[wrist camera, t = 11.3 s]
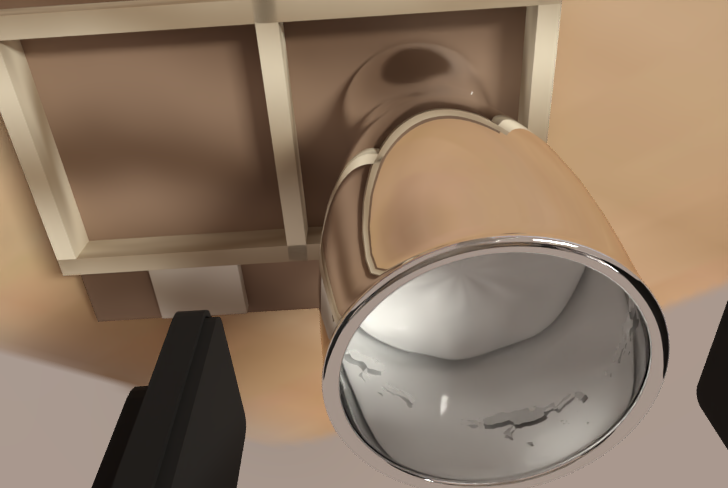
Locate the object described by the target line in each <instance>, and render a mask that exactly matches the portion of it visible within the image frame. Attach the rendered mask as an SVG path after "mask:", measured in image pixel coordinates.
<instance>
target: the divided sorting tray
mask: <svg viewBox="0 0 728 488" xmlns="http://www.w3.org/2000/svg"><path fill="white" fill-rule="evenodd" d="M561 7H562V0H0V112H1V115H2V117H3V120H4V123H5V125H6V128H7V130H8V133H9V136H10V138H11V141H12V143H13V146H14V149H15V151H16V154H17V156H18V159H19V162H20V164H21V167H22V170H23V172H24V175H25V177H26V180H27V183H28V185H29V188H30V190H31V193H32V196H33V198H34V201H35V203H36V206H37V209H38V211H39V214H40V216H41V219H42V222H43V224H44V227H45V229H46V232H47V235H48V237H49V240H50V242H51V245H52V248H53V250H54V253H55V255H56V258H57V261H58V263H59V266H60V269H61V271H62V274H63V276H67V275H81V276H82V279H83V282H84V285H85V287H86V290H87V293H88V296H89V298H90V301H91V304H92V307H93V309H94V312H95V315H96V318H97V320H98V322H99V321H115V320H131V319H148V318H173V316H174V315H175V313H176V312H178V311H194V310H209V312H210V314H211V315H227V314H243V313H247V312H261V311H277V310H294V309H310V308H319V301H318V273H319V251H320V243H321V235H322V228H323V221H324V216H325V211H326V208H327V205H328V202H329V199H330V195H331V192H332V189H333V186H334V183H335V180H336V178H337V175H338V173H339V171H340V169H341V166H342V164H343V162H344V160H345V158H346V156H347V154H348V153H347V151H346V149H345V146H344V143H343V140H342V136H341V129H340V110H341V105H342V101H343V97H344V94H345V92H346V89H347V87H348V85H349V83H350V82H351V80H352V79H353V77H354V76H355V74H356V73H357V72H358V71H359V69H360V68H361V67H362V66H363V65H364V64H365V63H367V62H368V61H369V60H370V59H371V58H373V57H374V56H376V55H377V54H379V53H381V52H382V51H384V50H386V49H389V48H391V47H394V46H397V45H401V44H406V43H415V42H424V43H433V44H437V45H441V46H445V47H448V48H450V49H452V50H454V51H456V52H458V53H460V54H461V55H463V56H464V57H465V58H466V59H468V60H469V61H470V62H471V63H472V64H473V65H474V66H475V67H476V69H477V70H478V71H479V73H480V74H481V76H482V77H483V79H484V81H485V83H486V85H487V87H488V90H489V93H490V96H491V100H492V105H493V107H494V108H496V109H497V110H499V111H501V112H503V113H504V114H506V115H508V116H509V117H511V118H513V119H514V120H516V121H518V122H519V123H521V124H522V125H523V126H525V127H526V128H527V129H529V130H530V131H531V132H532V133H534V134H535V135H536V136H538V137H539V138H540V139H542V140H543V141H544V142H545V143H547V138H548V129H549V119H550V110H551V101H552V91H553V82H554V72H555V63H556V54H557V44H558V35H559V25H560V16H561Z"/></svg>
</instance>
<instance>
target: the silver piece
mask: <svg viewBox="0 0 728 488" xmlns="http://www.w3.org/2000/svg"><path fill="white" fill-rule="evenodd" d="M340 129H341V136H342V140H343V143H344V146H345V149H346V151H347V153H348V154H347V156H346V158H345V160H344V162H343V164H342V166H341V169H340V171H339V173H338V175H337V178H336V180H335V183H334V186H333V189H332V192H331V195H330V199H329V202H328V205H327V208H326V211H325V216H324V221H323V228H322V235H321V243H320V251H319V273H318V301H319V319H320V334H321V345H322V356H323V371H322V392H323V399H324V403H325V407H326V411H327V414H328V416H329V419H330V421H331V423H332V425H333V427H334V429H335V431H336V432H337V434H338V435H339V437H340V438H341V439H342V441H343V442H344V443H345V444H346V445H347V447H348V448H349V449H350V450H351V451H352V452H353V453H354V454H355V455H356V456H358V457H359V458H360V459H361V460H362V461H364V462H365V463H366V464H368V465H369V466H370V467H372V468H374V469H375V470H377V471H378V472H380V473H382V474H384V475H386V476H388V477H390V478H392V479H394V480H397V481H399V482H402V483H404V484H407V485H410V486H414V487H417V488H530V487H534V486H538V485H541V484H544V483H547V482H550V481H553V480H556V479H559V478H561V477H564V476H566V475H568V474H570V473H573V472H575V471H577V470H579V469H581V468H583V467H584V466H586V465H588V464H590V463H592V462H593V461H595V460H597V459H598V458H600V457H601V456H603V455H604V454H606V453H607V452H608V451H610V450H611V449H612V448H614V447H615V446H616V445H617V444H619V443H620V442H621V441H622V440H623V439H624V438H626V436H628V435H629V434H630V433H631V432H632V431H633V430H634V428H635V427H636V426H637V425H638V424H639V423H640V421H641V420H642V419H643V418H644V417H645V415H646V414H647V412H648V411H649V409H650V408H651V406H652V404H653V403H654V401H655V399H656V397H657V396H658V394H659V391H660V389H661V387H662V384H663V381H664V378H665V375H666V371H667V367H668V361H669V350H670V344H669V333H668V328H667V325H666V320H665V317H664V314H663V312H662V309H661V307H660V305H659V303H658V301H657V299H656V298H655V296H654V294H653V293H652V292H651V290H650V289H649V288H648V286H647V285H646V284H645V283H644V282H643V281H642V279H641V277H640V276H639V274H638V272H637V270H636V269H635V267H634V265H633V263H632V261H631V260H630V258H629V256H628V254H627V252H626V250H625V249H624V247H623V245H622V243H621V242H620V240H619V238H618V237H617V235H616V233H615V231H614V230H613V228H612V226H611V225H610V223H609V221H608V220H607V218H606V216H605V215H604V213H603V212H602V210H601V209H600V207H599V206H598V205H597V203H596V202H595V200H594V199H593V197H592V196H591V194H590V193H589V192H588V190H587V189H586V187H585V186H584V184H583V183H582V182H581V180H580V179H579V178H578V177H577V175H576V174H575V173H574V172H573V171H572V170H571V169H570V168H569V167H568V165H567V164H566V163H565V162H564V161H563V160H562V159H561V158H560V156H559V155H558V154H557V153H556V152H555V151H554V150H553V149H552V148H551V147H550V146H549V145H548V144H547V143H545V142H544V141H543V140H542V139H540V138H539V137H538V136H536V135H535V134H534V133H532V132H531V131H530V130H529V129H527V128H526V127H525V126H523V125H522V124H521V123H519V122H518V121H516V120H514V119H513V118H511V117H509V116H508V115H506V114H504V113H503V112H501V111H499V110H497V109H496V108H494V107H493V105H492V100H491V96H490V93H489V90H488V87H487V85H486V83H485V81H484V79H483V77H482V76H481V74H480V73H479V71H478V70H477V69H476V67H475V66H474V65H473V64H472V63H471V62H470V61H469V60H468V59H466V58H465V57H464V56H463V55H461V54H460V53H458V52H456V51H454V50H452V49H450V48H448V47H445V46H441V45H437V44H433V43H424V42H415V43H406V44H401V45H397V46H394V47H391V48H389V49H386V50H384V51H382V52H381V53H379V54H377V55H376V56H374V57H373V58H371V59H370V60H369V61H368V62H367V63H365V64H364V65H363V66H362V67H361V68H360V69H359V71H358V72H357V73H356V74H355V76H354V77H353V79H352V80H351V82H350V83H349V85H348V87H347V89H346V92H345V94H344V97H343V101H342V105H341V110H340Z"/></svg>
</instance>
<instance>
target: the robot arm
mask: <svg viewBox="0 0 728 488" xmlns="http://www.w3.org/2000/svg"><path fill="white" fill-rule="evenodd" d="M697 399H698V402H699V405H700V407H701V409H702V410H703V412H704V413H705V415H706V416H707V418H708V419H709V421H710V423H711V424H712V426H713V427H714V429H715V430H716V432H717V434H718V435H719V437H720V438H721V440H722V441H723V443H724V444H725V446H726V448H727V449H728V301H727V304H726V307H725V310H724V313H723V316H722V318H721V321H720V324H719V327H718V330H717V332H716V335H715V338H714V341H713V343H712V346H711V349H710V352H709V355H708V358H707V360H706V363H705V366H704V369H703V371H702V375H701V377H700V380H699V383H698V385H697ZM245 433H246V419H245V413H244V409H243V405H242V401H241V397H240V393H239V388H238V384H237V380H236V376H235V372H234V368H233V364H232V360H231V356H230V352H229V348H228V344H227V340H226V336H225V332H224V328H223V324H222V320H221V318H220V317H212V316H211V314H210V312H209V310H194V311H178V312H176V313H175V315H174V316H173V319H172V322H171V324H170V327H169V330H168V333H167V336H166V338H165V341H164V344H163V347H162V349H161V352H160V355H159V358H158V360H157V363H156V366H155V369H154V371H153V374H152V377H151V380H150V382H149V385H148V386H140V387H134V388H133V389H132V390H131V391H130V393H129V395H128V397H127V399H126V402H125V404H124V407H123V409H122V412H121V414H120V417H119V419H118V422H117V425H116V427H115V430H114V432H113V435H112V437H111V440H110V442H109V445H108V448H107V450H106V452H105V455H104V457H103V460H102V463H101V465H100V468H99V470H98V473H97V475H96V478H95V480H94V483H93V486H92V488H237V482H238V476H239V470H240V464H241V458H242V451H243V446H244V440H245Z"/></svg>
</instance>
